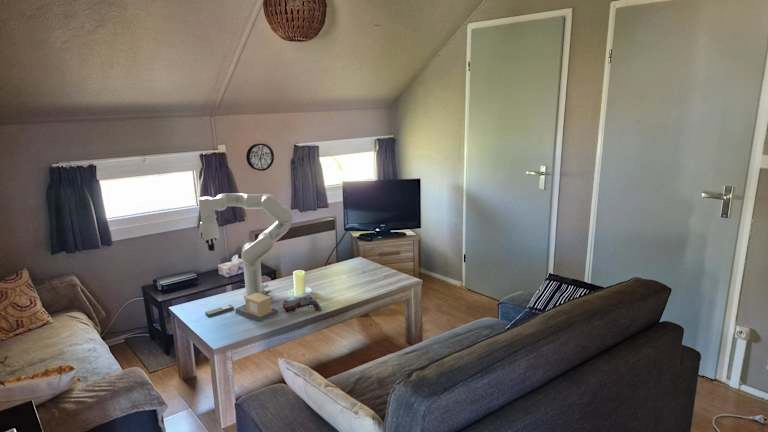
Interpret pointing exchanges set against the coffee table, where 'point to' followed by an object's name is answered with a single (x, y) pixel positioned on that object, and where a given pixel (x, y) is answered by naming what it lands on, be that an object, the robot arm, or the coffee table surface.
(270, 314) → the podium
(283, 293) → the coffee table surface
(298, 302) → the toy gun
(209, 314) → the remote
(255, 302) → the carton
